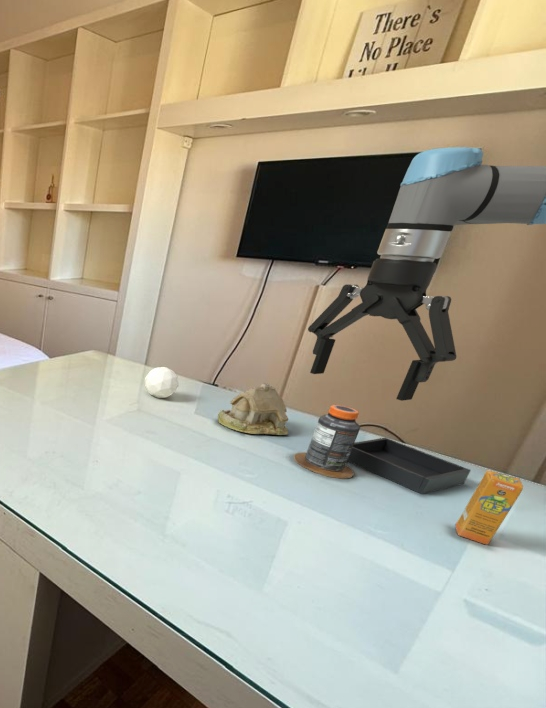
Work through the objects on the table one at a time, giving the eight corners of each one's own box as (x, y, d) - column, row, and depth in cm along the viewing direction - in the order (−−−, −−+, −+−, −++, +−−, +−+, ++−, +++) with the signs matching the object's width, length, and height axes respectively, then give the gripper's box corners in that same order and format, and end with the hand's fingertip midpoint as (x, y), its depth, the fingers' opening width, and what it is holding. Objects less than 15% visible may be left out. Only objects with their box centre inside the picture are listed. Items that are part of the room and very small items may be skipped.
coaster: (364, 475, 82) (365, 473, 82) (332, 481, 79) (333, 479, 79) (313, 452, 90) (314, 450, 90) (282, 457, 87) (283, 455, 87)
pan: (463, 484, 82) (471, 469, 81) (421, 494, 77) (428, 479, 76) (379, 450, 93) (385, 437, 92) (338, 457, 89) (344, 444, 88)
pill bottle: (340, 462, 86) (363, 407, 82) (345, 475, 81) (370, 417, 77) (302, 453, 88) (323, 399, 85) (305, 465, 84) (326, 408, 80)
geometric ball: (146, 404, 117) (135, 375, 118) (176, 394, 117) (164, 366, 118) (157, 400, 109) (145, 369, 111) (189, 389, 109) (176, 359, 111)
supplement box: (456, 535, 66) (489, 476, 63) (454, 526, 69) (485, 468, 65) (489, 547, 64) (525, 486, 61) (486, 536, 67) (520, 477, 63)
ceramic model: (252, 414, 108) (265, 374, 104) (298, 435, 98) (314, 391, 94) (207, 418, 103) (219, 376, 100) (250, 440, 93) (265, 395, 90)
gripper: (309, 252, 81) (274, 365, 89) (503, 266, 60) (434, 414, 67) (336, 253, 84) (299, 363, 91) (531, 268, 62) (462, 410, 70)
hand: (356, 385), depth 79 cm, fingers open, 13 cm apart
